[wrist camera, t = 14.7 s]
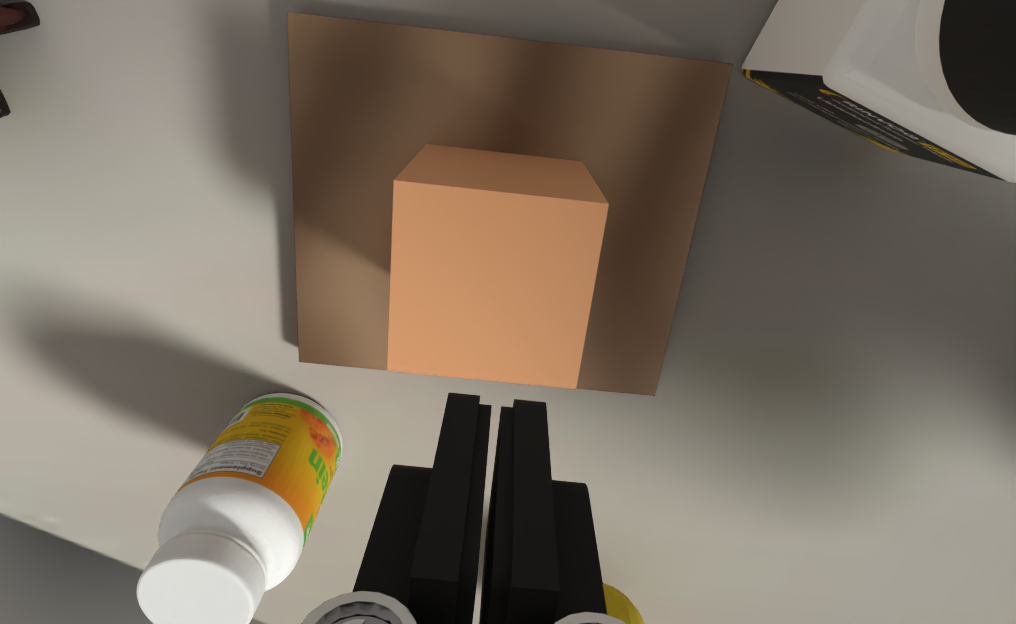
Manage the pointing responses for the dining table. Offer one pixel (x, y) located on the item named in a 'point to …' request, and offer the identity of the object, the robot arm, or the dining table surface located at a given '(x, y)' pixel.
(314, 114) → the base board
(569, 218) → the tan wooden cube
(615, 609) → the lemon
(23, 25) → the mate gourd
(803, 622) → the dining table surface
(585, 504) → the robot arm
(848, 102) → the medicine bottle
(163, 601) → the supplement bottle
